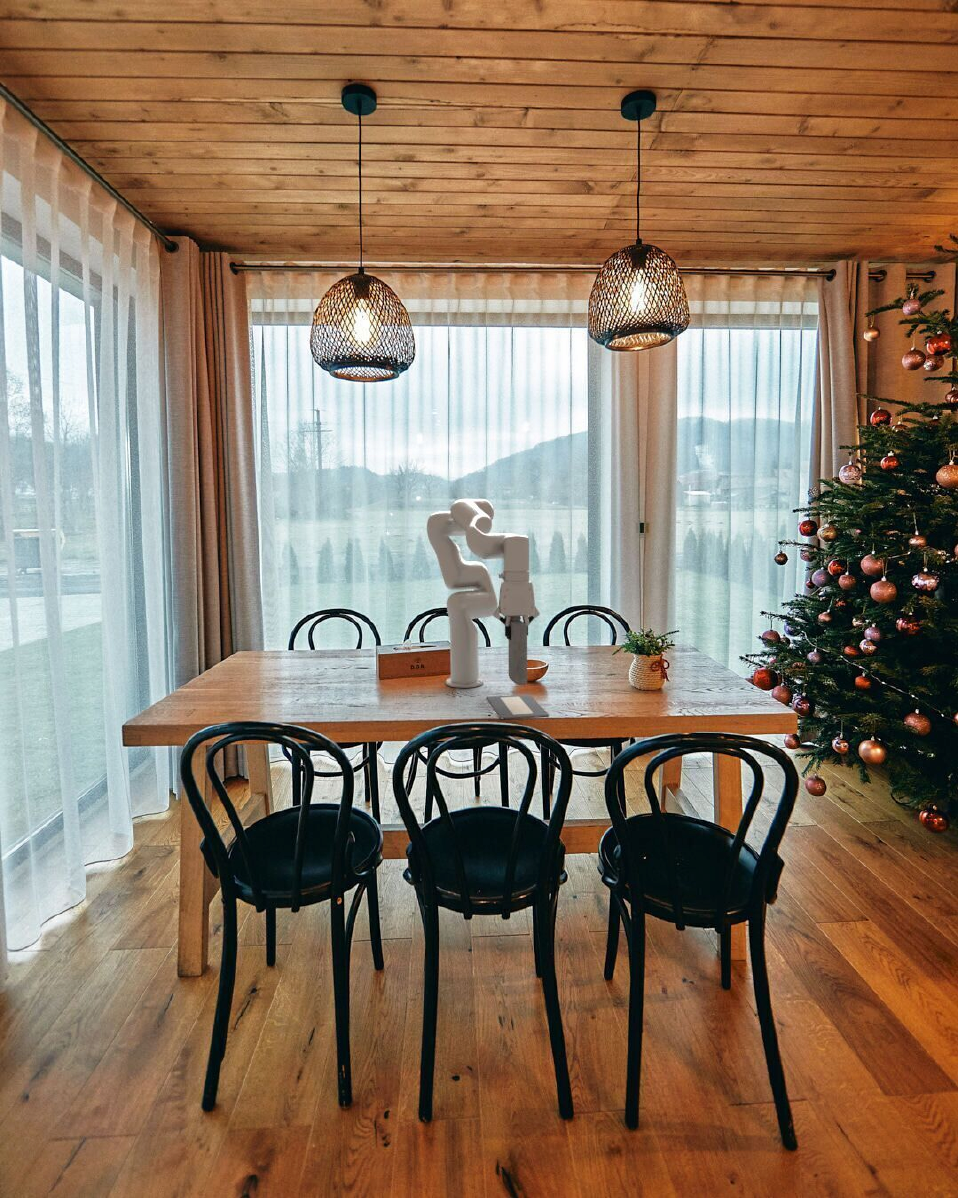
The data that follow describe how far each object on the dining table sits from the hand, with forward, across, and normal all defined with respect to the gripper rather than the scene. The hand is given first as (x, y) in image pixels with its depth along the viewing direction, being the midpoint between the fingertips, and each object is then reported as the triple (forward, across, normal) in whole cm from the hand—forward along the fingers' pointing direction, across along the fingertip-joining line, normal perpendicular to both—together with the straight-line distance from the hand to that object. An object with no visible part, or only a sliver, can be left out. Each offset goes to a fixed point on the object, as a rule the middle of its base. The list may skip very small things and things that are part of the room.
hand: (516, 637), depth 204 cm
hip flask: (+12, 0, 0) cm, 12 cm away
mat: (+21, 0, 0) cm, 21 cm away
